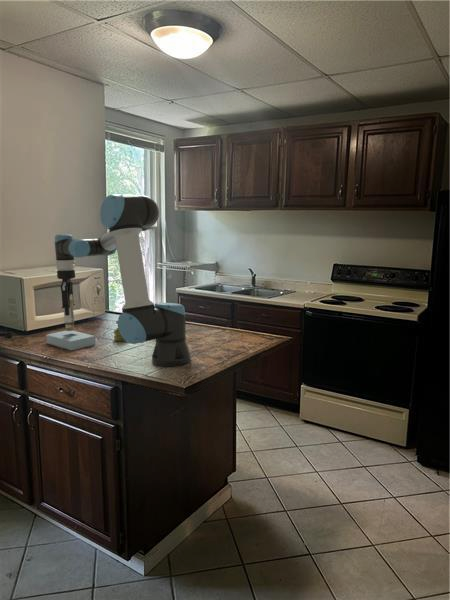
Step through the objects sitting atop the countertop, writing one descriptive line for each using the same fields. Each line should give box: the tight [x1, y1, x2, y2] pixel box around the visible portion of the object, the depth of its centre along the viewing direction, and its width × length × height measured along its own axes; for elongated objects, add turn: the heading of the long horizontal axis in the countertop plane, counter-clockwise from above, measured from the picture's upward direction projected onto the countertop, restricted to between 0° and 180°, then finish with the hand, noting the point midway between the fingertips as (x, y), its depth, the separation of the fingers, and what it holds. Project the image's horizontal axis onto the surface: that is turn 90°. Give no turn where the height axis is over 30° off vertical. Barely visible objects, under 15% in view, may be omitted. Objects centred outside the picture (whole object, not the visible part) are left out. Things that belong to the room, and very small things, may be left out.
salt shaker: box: [113, 319, 126, 343], centre depth 207 cm, size 7×7×10 cm
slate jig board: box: [46, 330, 96, 351], centre depth 202 cm, size 20×12×4 cm, turn 51°
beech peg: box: [63, 295, 75, 331], centre depth 200 cm, size 4×4×16 cm
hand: (69, 321), depth 200 cm, fingers closed on beech peg, 4 cm apart
